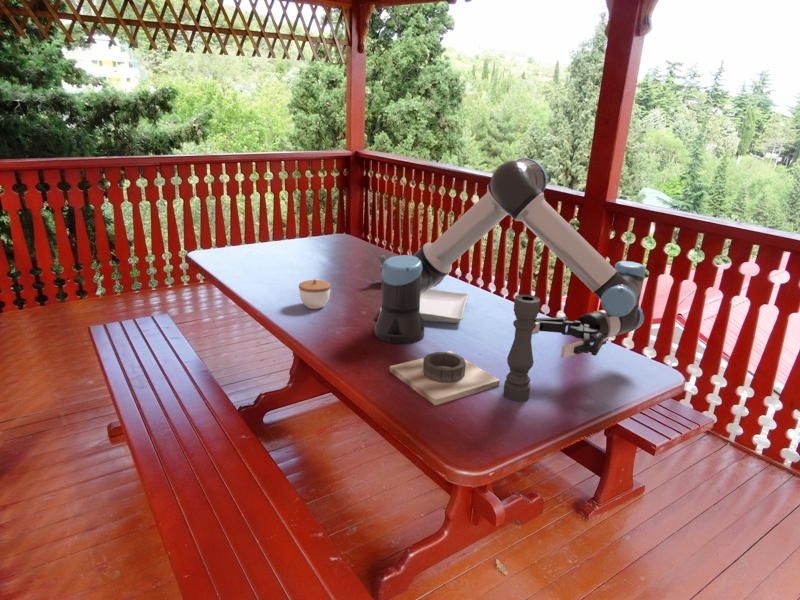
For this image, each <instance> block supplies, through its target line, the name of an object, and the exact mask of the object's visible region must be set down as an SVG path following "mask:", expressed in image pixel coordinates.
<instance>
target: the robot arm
mask: <svg viewBox="0 0 800 600" xmlns="http://www.w3.org/2000/svg"><path fill="white" fill-rule="evenodd" d="M547 174H548V173H547V171H546V168H545V167H544V166H543V164H542V163H540V162H539V161H538V160H536V159H532V158H528V157H523V158H519V159H516V160H510V161H507V162H503V163H502V164H500V165H499V166H498V167H496V169H495V170H494V172H493V174H492V176H491V180H490V182H489V183H488V184H487V186H486V187H487V190H486V191H487V192H485V194H484V195H483V196H481V198H480V199H479V200H477V202H476V203H475V204H473V205H472V206H471V207H470V208H469V209H468V210H467V211H466V212H465V213H464V214H462V216H460V218H458V219H457V220H456V221H455V222H454V223H453V224H452V225H451V226H449V228H448V229H447V230H445V231H444V232H443V233H442V234H441V235H440V236H439V237H438V238H437V239H436V240H435V241H434V242H425V244H423V245H422V246H421V247H420V248H419V249H418V250H417V251H416V252H415V253H414V254H413V255H411V254H408V255H407V254H402V255H399V254H398V255H397V256H396V255H394V256H392V257H391V256H390V257H388V258H386V261H385V262H384V263H383V267H382V273H381V272H380V274H381V275H380V276H381V291H380V292H381V296H380V297H381V298H380V299H381V301H380V303H381V304H380V306H381V307H380V308H381V311H380V310H379V315H378V317H377V319H376V320H377V321H376V323H375V325H374V335H375V337H376V338H377V339H378V340H381V341H383V342H387V343H392V344H411V343H416V342H418V341H420V340H422V339H423V338H424V337H425V325H424V320H422V317H421V314H420V295H421V294H422V293H423V292H425V291H427V290H429V289H433V288H435V287H436V286H438V285H439V284H440V283H441V282H442V281H443V280H444V279H445V277H446V276H448V274H449V273H450V272H451V271H452V270H453V267H452V266H453V263H454V262H456V261H457V260H458V259H459V258H460V257H461V256H463V255H464V254H465V252H467V251H468V250H469V249H470V248H472V247H473V246H474V245H475V244H476V243H477V242H479V241H480V239H482V238H483V237H484V236H485V235H486V234H487V233H489V232H490V231H491V230H492V229H493V228H494V227H495V226H496V225H498V224H499V223H500V222H501V221H502V220H504V218H505V217H507V216H510V217H511V218H512V220H514V221H515V222H522V223H523V224H524V225H525V226H526V227H527V228H528V229H529V230H530V231H531V232H532V234H534V235H535V236H536V237H537V238H538V239H539V240H540V241H541V242H542V243H543V244H544V245H545V246H546V247H547V248H548V249H549V250H550V251H551V252H552V253H553V254H554V255H555V256H556V257H557V258H559V259H558V260H560V261H561V262H562V263H563V264H564V265H565V266H566V267H567V268H568V269H569V270H570V271H571V272H573V274H574V275H575V276H576V277H578V279H579V280H580V281H581V282H582V283H584V285H585V286H586V287H587V288H589V290H590V291H591V293H594V295H595V296H596V297H597V298H598V299H599V300H600V304H601V307H602V309H601V310H600V309H599V310H596V311H593V312H589V313H585V314H582V315H581V316H580V317H579V318H578V319H577V320H573V321H571V320H568V317H567V316H561V317H536V318H535V320H534V321H533V322H535V323H536V328H534V329H533V330H532V335H536V334H538V333H540V332H547V333H559V334H561V335H563V336H572V337H574V338H577V339H581V340H579V341H575V342H572V343H569V344H565V345H563V346H562V347H561V355H560V357H561V358H562V359H565V358H569V357H571V356H574V355H580V354H583V353H584V354H589V353H591V354H590V355H592V356H597V355H598V353H599V352H600V350H601V348H602V347H603V345H606V344H607V341H608V339H609V338H612V337H616V336H620V335H623V334H627V333H630V332H633V331H635V330H637V329H639V328H640V327H642V325H643V324H644V320H645V315H644V312H643V309H642V307H640V299H641V295H642V290H643V286H644V285H643V284H644V282H645V281H644V280H645V275H646V274H645V272H646V267H645V266H644V265H643V264H641V263H639V262H635V261H627V260H624V261H618V262H616V263H615V264H614V266H613V265H611V264H610V262H609V261H608V260H607V259H606V258H605V257H603V256H602V255H601V254H600V253H599V252H598V251H597V250H596V249H595V248H594V247H593V246H592V245H591V244H590V243H589V242H588V241H587V240H586V239H585V238H584V237H583V236H582V235H581V234H580V233H579V232H578V231H577V230H576V229H574V227H573V226H572V225H571V224H569V222H568V221H566V220H565V218H563V216H561V215H560V213H558V212H557V210H556V209H554V208H553V207H552V205H551V204H549V203H548V201H546V200H545V193H544V191H545V190H546V188H547V184H548V176H547ZM566 329H567V331H566Z"/></svg>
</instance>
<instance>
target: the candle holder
mask: <svg viewBox="0 0 800 600" xmlns="http://www.w3.org/2000/svg"><path fill="white" fill-rule="evenodd" d="M513 303H514V304H513V312H514V317H515V319H514V321H513V322H512V324H513V326H514V328H515V331H514V339H513V342H512V344H511V347H510V350H509V353H508V355H507V361H506V362H507V365H508V367H509V373H508V374H506V376H505V378H506V379H505V380H504V384H503V392H502V393H503V397H504V398H505V399H506V400H508V401H510V402H512V403H513V402H515V403H524V402H528V400H530V395H531V394H530V392H531V383H530V382H531V378H530V376H529V373H530V370H531V369H532V367H533V366H534V355H533V347H532V346H533V345H532V337H533V336H532V335H533V334H532V330H533V329H534V328H536V323H535V322H533V321H534V320H535V318H538V314H539V313H540V308H541V307H540V305H541V299H540V298H539V297H538V296H535V295H531V294H518V295H515V296H514V301H513Z"/></svg>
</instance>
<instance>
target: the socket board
mask: <svg viewBox="0 0 800 600" xmlns="http://www.w3.org/2000/svg"><path fill="white" fill-rule="evenodd" d="M389 373H391V374H392V375H394V376H395V378H398V379H399V380H400V381H401V382H403V383H404V384H406V385H408V386H409V388H411V389H412V390H414V391H415V392H416V393H418V394H419V395H420V396H422V398H425V400H426V401H428V402H430V403H431V404H432V405H434V406H435V407H436V406H439V405H441V404H445V403H448V402H451V401H455V400H458V399H461V398H464V397H467V396H470V395H474V394H476V393H480V392H482V391H486V390H489V389H493V388H496V387H499V386H500V379H498V378H497V377H495V376H493V375H492V374H490V373H489V372H487V371H485V370H483V369H481V368H480V367H478V366H476V365H475V364H473V363H471V362H470V361H468V360H467V359H465V358H464V357H462V356H460V355H459V354H456V353H455V352H453V351H451V350H448V351H435V352H432V353H431V352H430V353H428V354H426V356H424V357H422V358H421V357H420V358H418V359H414V360H409V361H406V362H403V363H402V362H401V363H398V364H394V365H390V366H389Z"/></svg>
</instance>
